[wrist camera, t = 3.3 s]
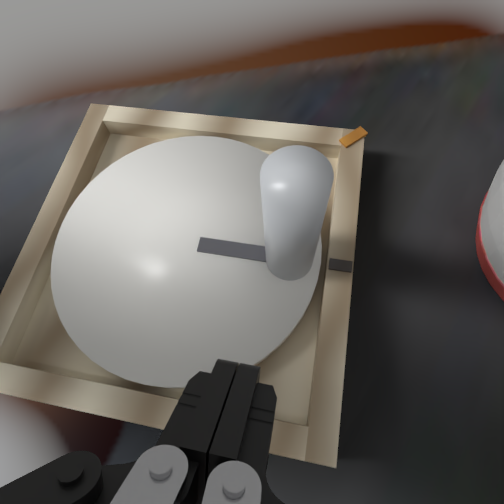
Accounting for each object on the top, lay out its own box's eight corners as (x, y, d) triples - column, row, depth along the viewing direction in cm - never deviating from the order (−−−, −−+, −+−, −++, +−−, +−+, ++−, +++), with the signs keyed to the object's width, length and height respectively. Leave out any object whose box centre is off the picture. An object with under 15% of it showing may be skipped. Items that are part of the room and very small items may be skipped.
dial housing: (-6, 386, 24) (-45, 383, 21) (107, 127, 32) (90, 100, 29) (331, 460, 21) (340, 469, 18) (359, 155, 29) (368, 127, 26)
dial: (18, 358, 23) (-167, 323, 13) (112, 136, 30) (35, 9, 20) (300, 416, 20) (320, 425, 11) (332, 161, 27) (361, 29, 18)
